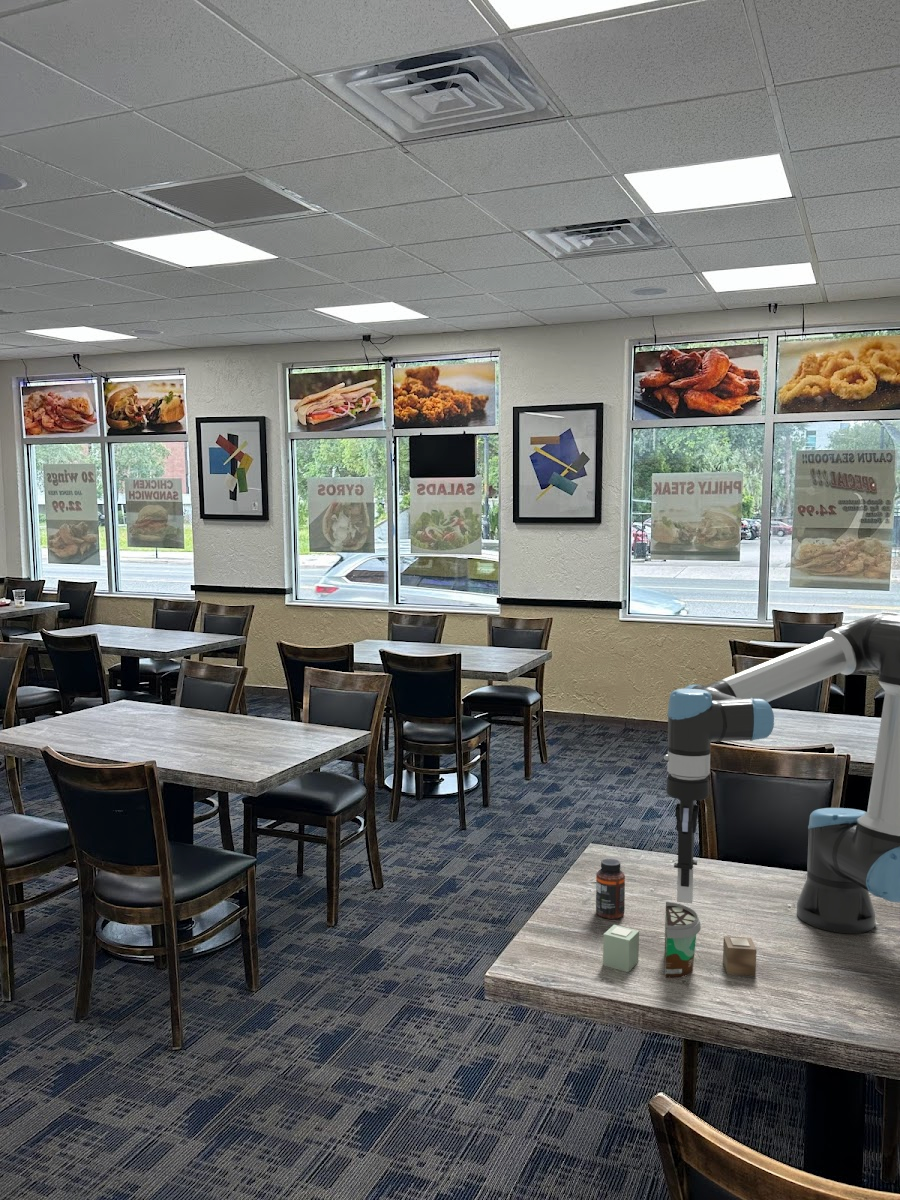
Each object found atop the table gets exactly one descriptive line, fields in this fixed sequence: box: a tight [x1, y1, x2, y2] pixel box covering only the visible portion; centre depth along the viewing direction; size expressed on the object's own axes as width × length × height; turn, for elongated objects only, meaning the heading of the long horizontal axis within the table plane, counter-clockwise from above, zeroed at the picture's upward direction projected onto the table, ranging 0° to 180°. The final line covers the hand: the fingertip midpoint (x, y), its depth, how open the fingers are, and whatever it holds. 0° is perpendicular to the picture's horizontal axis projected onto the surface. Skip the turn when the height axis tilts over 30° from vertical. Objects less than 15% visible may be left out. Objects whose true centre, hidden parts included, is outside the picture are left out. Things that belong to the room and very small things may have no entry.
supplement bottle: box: [595, 858, 626, 920], centre depth 197 cm, size 6×6×11 cm
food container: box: [664, 901, 702, 979], centre depth 173 cm, size 12×6×10 cm, turn 168°
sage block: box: [602, 924, 640, 973], centre depth 175 cm, size 5×5×6 cm
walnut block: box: [722, 935, 757, 977], centre depth 174 cm, size 5×5×5 cm
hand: (684, 901), depth 173 cm, fingers closed
